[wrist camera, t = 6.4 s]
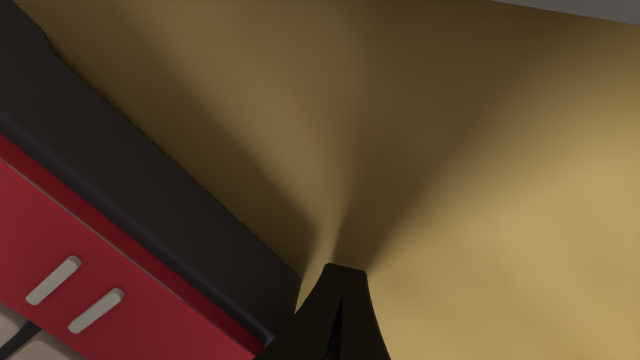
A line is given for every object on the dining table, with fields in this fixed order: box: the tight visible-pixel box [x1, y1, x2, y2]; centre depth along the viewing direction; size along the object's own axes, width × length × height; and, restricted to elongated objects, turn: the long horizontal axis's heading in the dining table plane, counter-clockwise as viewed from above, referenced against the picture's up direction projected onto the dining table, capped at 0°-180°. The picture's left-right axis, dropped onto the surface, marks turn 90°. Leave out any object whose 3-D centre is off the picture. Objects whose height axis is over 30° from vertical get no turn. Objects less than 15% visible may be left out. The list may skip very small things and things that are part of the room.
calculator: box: [0, 0, 301, 360], centre depth 14 cm, size 11×4×15 cm
